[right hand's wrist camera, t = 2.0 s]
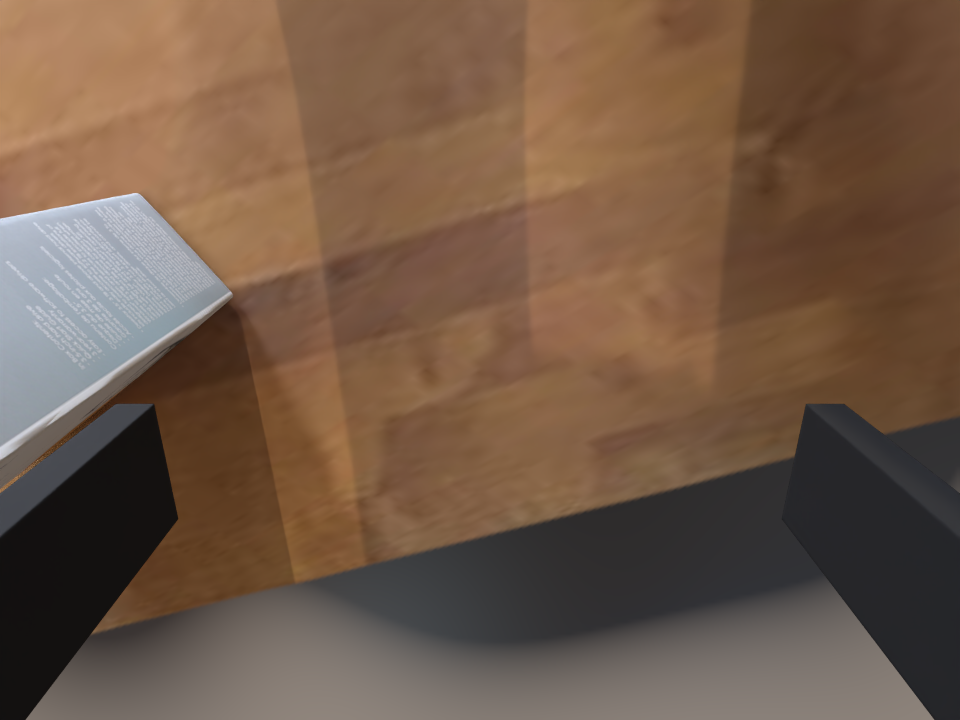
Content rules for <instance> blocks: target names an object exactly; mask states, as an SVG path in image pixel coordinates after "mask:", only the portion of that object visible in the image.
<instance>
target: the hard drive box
mask: <svg viewBox="0 0 960 720" xmlns="http://www.w3.org/2000/svg"><path fill="white" fill-rule="evenodd" d="M232 298H233V294H232V292H231V291H230V290H229V289H228V288H227V287H226V286H225V284H224V283H223V282H222V281H221V280H220V279H219V278H218V277H217V276H216V275H215V274H214V273H213V272H212V270H211V269H210V268H209V267H208V266H207V265H206V264H205V263H204V262H203V261H202V260H201V259H200V257H199V256H198V255H197V254H196V253H195V252H194V251H193V250H192V249H191V248H190V247H189V246H188V245H187V243H186V242H185V241H184V240H183V239H182V238H181V237H180V236H179V235H178V234H177V233H176V232H175V230H174V229H173V228H172V227H171V226H170V225H169V224H168V223H167V222H166V221H165V220H164V219H163V218H162V216H161V215H160V214H159V213H158V212H157V211H156V210H155V209H154V208H153V207H152V206H151V205H150V204H149V203H148V202H147V201H146V200H145V199H144V198H143V197H142V196H141V195H140V194H138V193H134V194H128V195H123V196H118V197H112V198H107V199H102V200H96V201H91V202H86V203H81V204H76V205H71V206H65V207H59V208H55V209H50V210H45V211H40V212H34V213H29V214H24V215H18V216H13V217H8V218H3V219H0V489H1V488H2V487H3V486H4V485H6V484H7V483H8V482H10V481H11V480H12V479H13V478H15V477H16V476H17V475H19V474H20V473H21V472H22V471H24V470H25V469H26V468H28V467H29V466H30V465H31V464H33V463H34V462H35V461H37V460H38V459H39V458H40V457H42V456H43V455H44V454H45V453H47V452H48V451H49V450H50V449H52V448H53V447H54V446H56V445H57V444H58V443H59V442H61V441H62V440H63V439H64V438H66V437H67V436H68V435H69V434H70V433H72V432H73V431H74V430H75V429H76V428H78V427H79V426H80V425H81V424H83V423H84V422H85V421H86V420H87V419H89V418H90V417H91V416H92V415H93V414H95V413H96V412H97V411H98V410H99V409H101V408H102V407H103V406H104V405H105V404H106V403H108V402H109V401H110V400H111V399H112V398H114V397H115V396H116V395H117V394H118V393H120V392H121V391H122V390H123V389H124V388H126V387H127V386H128V385H129V384H130V383H132V382H133V381H134V380H135V379H136V378H138V377H139V376H140V375H141V374H142V373H144V372H145V371H146V370H147V369H148V368H150V367H151V366H152V365H153V364H155V363H156V362H157V361H158V360H159V359H160V358H162V357H163V356H164V355H165V354H166V353H168V352H169V351H170V350H171V349H172V348H174V347H175V346H176V345H177V344H178V343H180V342H181V341H182V340H183V339H185V338H186V337H187V336H188V335H189V334H191V333H192V332H193V331H194V330H195V329H196V328H198V327H199V326H200V325H201V324H202V323H203V322H205V321H206V320H207V319H208V318H209V317H210V316H212V315H213V314H214V313H215V312H216V311H218V310H219V309H220V308H221V307H222V306H223V305H225V304H226V303H227V302H228V301H229V300H230V299H232Z"/></svg>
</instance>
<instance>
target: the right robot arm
mask: <svg viewBox="0 0 960 720" xmlns="http://www.w3.org/2000/svg"><path fill="white" fill-rule="evenodd" d="M177 520H178V515H177V511H176V506H175V501H174V497H173V492H172V487H171V482H170V478H169V473H168V468H167V463H166V459H165V454H164V449H163V444H162V440H161V435H160V430H159V425H158V421H157V416H156V411H155V406H154V404H115V405H114V406H113V407H111V408H110V409H109V410H107V411H106V412H105V413H104V414H102V415H101V416H100V417H98V418H97V419H96V420H95V421H93V422H92V423H91V424H89V425H88V426H87V427H85V428H84V429H83V430H82V431H80V432H79V433H78V434H76V435H75V436H74V437H73V438H71V439H70V440H69V441H67V442H66V443H65V444H64V445H62V446H61V447H60V448H58V449H57V450H56V451H54V452H53V453H52V454H51V455H49V456H48V457H47V458H45V459H44V460H43V461H42V462H40V463H39V464H38V465H36V466H35V467H34V468H33V469H31V470H30V471H29V472H27V473H26V474H25V475H23V476H22V477H21V478H20V479H18V480H17V481H16V482H14V483H13V484H12V485H11V486H9V487H8V488H7V489H5V490H4V491H3V492H1V493H0V720H26V718H27V717H28V716H29V714H30V713H31V712H32V710H33V709H34V708H35V707H36V705H37V704H38V703H39V701H40V700H41V699H42V697H43V696H44V695H45V693H46V692H47V691H48V689H49V688H50V687H51V685H52V684H53V683H54V682H55V680H56V679H57V678H58V676H59V675H60V674H61V672H62V671H63V670H64V668H65V667H66V666H67V664H68V663H69V662H70V660H71V659H72V658H73V657H74V655H75V654H76V653H77V651H78V650H79V649H80V647H81V646H82V645H83V643H84V642H85V641H86V639H87V638H88V637H89V636H90V634H91V633H92V632H93V630H94V629H95V628H96V626H97V625H98V624H99V622H100V621H101V620H102V618H103V617H104V616H105V615H106V613H107V612H108V611H109V609H110V608H111V607H112V605H113V604H114V603H115V601H116V600H117V599H118V597H119V596H120V595H121V593H122V592H123V591H124V590H125V588H126V587H127V586H128V584H129V583H130V582H131V580H132V579H133V578H134V576H135V575H136V574H137V572H138V571H139V570H140V569H141V567H142V566H143V565H144V563H145V562H146V561H147V559H148V558H149V557H150V555H151V554H152V553H153V551H154V550H155V549H156V547H157V546H158V545H159V544H160V542H161V541H162V540H163V538H164V537H165V536H166V534H167V533H168V532H169V530H170V529H171V528H172V526H173V525H174V524H175V523H176V521H177ZM782 520H783V521H784V523H785V524H786V525H787V526H788V528H789V529H790V530H791V532H792V533H793V534H794V536H795V537H796V538H797V540H798V541H799V542H800V544H801V545H802V546H803V547H804V549H805V550H806V551H807V553H808V554H809V555H810V557H811V558H812V559H813V561H814V562H815V563H816V565H817V566H818V567H819V568H820V570H821V571H822V572H823V574H824V575H825V576H826V578H827V579H828V580H829V582H830V583H831V584H832V586H833V587H834V588H835V589H836V591H837V592H838V593H839V595H840V596H841V597H842V599H843V600H844V601H845V603H846V604H847V605H848V607H849V608H850V609H851V611H852V612H853V613H854V615H855V616H856V617H857V618H858V620H859V621H860V622H861V624H862V625H863V626H864V628H865V629H866V630H867V632H868V633H869V634H870V636H871V637H872V638H873V640H874V641H875V642H876V643H877V645H878V646H879V647H880V649H881V650H882V651H883V653H884V654H885V655H886V657H887V658H888V659H889V661H890V662H891V663H892V664H893V666H894V667H895V668H896V670H897V671H898V672H899V674H900V675H901V676H902V678H903V679H904V680H905V682H906V683H907V684H908V686H909V687H910V688H911V689H912V691H913V692H914V693H915V695H916V696H917V697H918V699H919V700H920V701H921V703H922V704H923V705H924V707H925V708H926V709H927V710H928V712H929V713H930V714H931V716H932V717H933V718H934V720H960V493H958V492H957V491H956V490H955V489H953V488H952V487H951V486H949V485H948V484H947V483H946V482H944V481H943V480H942V479H940V478H939V477H938V476H937V475H935V474H934V473H933V472H931V471H930V470H929V469H927V468H926V467H925V466H924V465H922V464H921V463H920V462H918V461H917V460H916V459H915V458H913V457H912V456H911V455H909V454H908V453H907V452H906V451H904V450H903V449H902V448H900V447H899V446H898V445H896V444H895V443H894V442H893V441H891V440H890V439H889V438H887V437H886V436H885V435H884V434H882V433H881V432H880V431H878V430H877V429H876V428H875V427H873V426H872V425H871V424H869V423H868V422H867V421H865V420H864V419H863V418H862V417H860V416H859V415H858V414H856V413H855V412H854V411H853V410H851V409H850V408H849V407H847V406H846V405H845V404H806V406H805V411H804V416H803V421H802V425H801V430H800V435H799V440H798V444H797V449H796V454H795V459H794V463H793V468H792V473H791V478H790V483H789V487H788V492H787V497H786V501H785V506H784V511H783V516H782Z"/></svg>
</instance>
